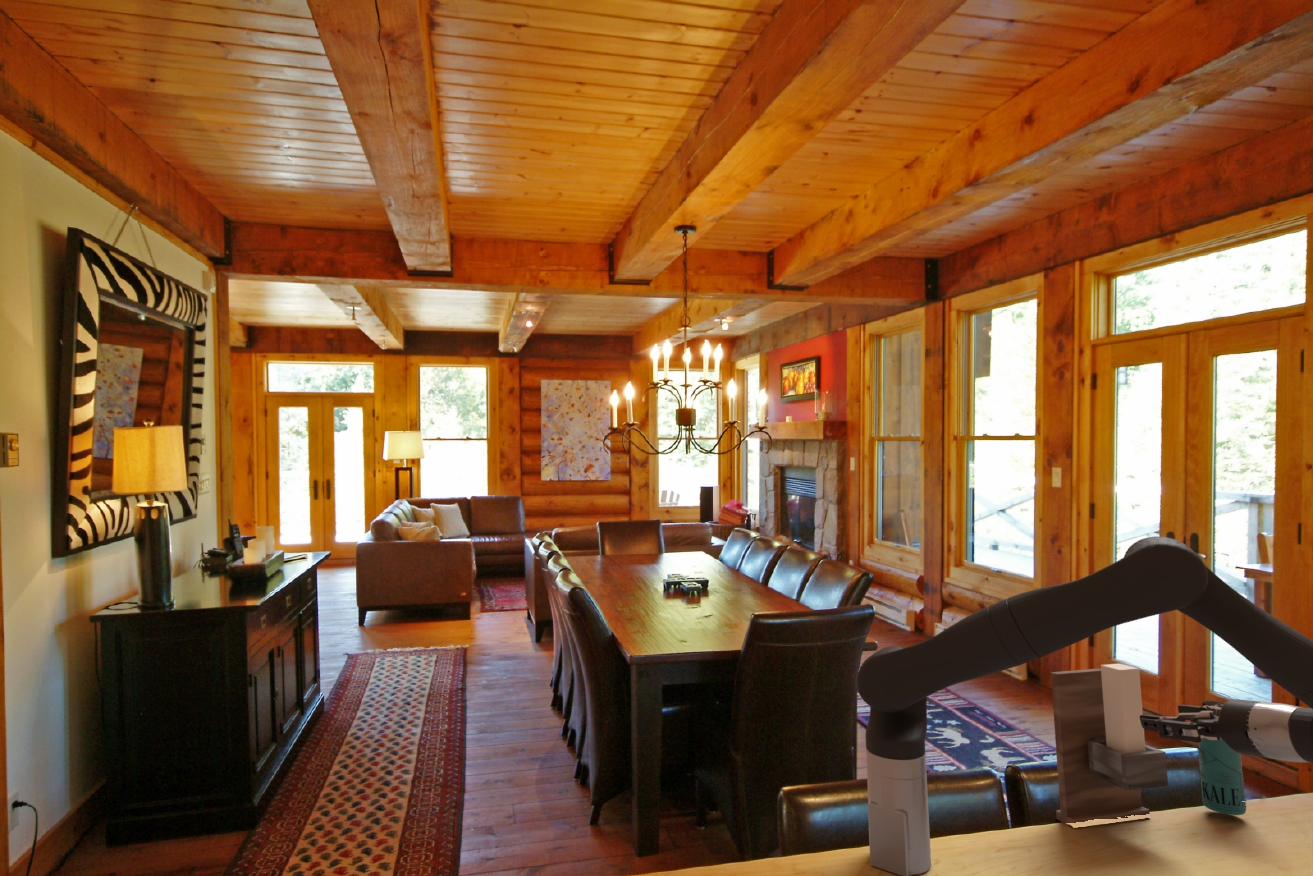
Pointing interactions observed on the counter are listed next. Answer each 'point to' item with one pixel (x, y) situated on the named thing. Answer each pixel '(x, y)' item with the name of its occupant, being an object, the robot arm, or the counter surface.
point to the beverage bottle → (1221, 775)
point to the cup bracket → (1096, 755)
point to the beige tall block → (1122, 708)
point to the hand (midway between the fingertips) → (1161, 716)
